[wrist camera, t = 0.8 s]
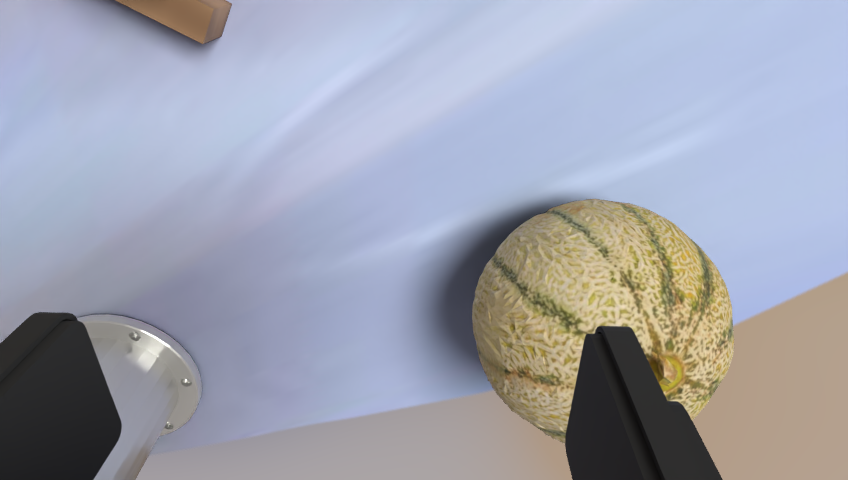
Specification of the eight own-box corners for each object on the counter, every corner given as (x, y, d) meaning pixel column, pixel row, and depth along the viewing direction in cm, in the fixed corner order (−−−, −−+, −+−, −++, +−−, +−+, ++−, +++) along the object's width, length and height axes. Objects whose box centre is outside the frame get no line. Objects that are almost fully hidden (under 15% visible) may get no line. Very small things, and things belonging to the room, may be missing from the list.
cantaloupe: (458, 336, 43) (471, 510, 29) (474, 160, 36) (500, 283, 22) (644, 343, 43) (741, 519, 30) (696, 169, 36) (852, 297, 23)
